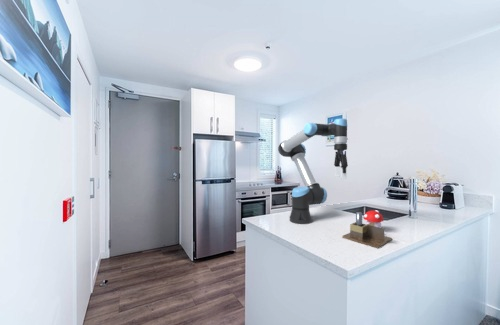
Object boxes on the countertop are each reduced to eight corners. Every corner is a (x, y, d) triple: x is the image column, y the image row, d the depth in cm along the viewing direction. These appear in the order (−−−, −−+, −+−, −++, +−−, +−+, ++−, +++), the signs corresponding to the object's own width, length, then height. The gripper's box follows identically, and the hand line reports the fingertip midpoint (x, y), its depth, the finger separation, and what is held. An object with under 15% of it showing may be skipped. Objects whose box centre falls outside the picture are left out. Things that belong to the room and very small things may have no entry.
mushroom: (373, 234, 124) (373, 213, 123) (359, 228, 134) (359, 209, 134) (388, 232, 126) (388, 212, 126) (372, 226, 137) (372, 207, 137)
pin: (355, 236, 117) (355, 212, 117) (357, 234, 119) (357, 211, 119) (360, 237, 115) (360, 213, 115) (363, 236, 117) (363, 212, 117)
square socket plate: (342, 237, 118) (342, 224, 118) (358, 230, 129) (358, 218, 129) (377, 248, 104) (377, 233, 104) (392, 239, 115) (392, 225, 115)
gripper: (353, 142, 121) (353, 179, 122) (340, 144, 146) (340, 175, 147) (340, 142, 122) (339, 179, 123) (329, 145, 147) (329, 175, 148)
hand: (340, 177), depth 135 cm, fingers open, 13 cm apart
